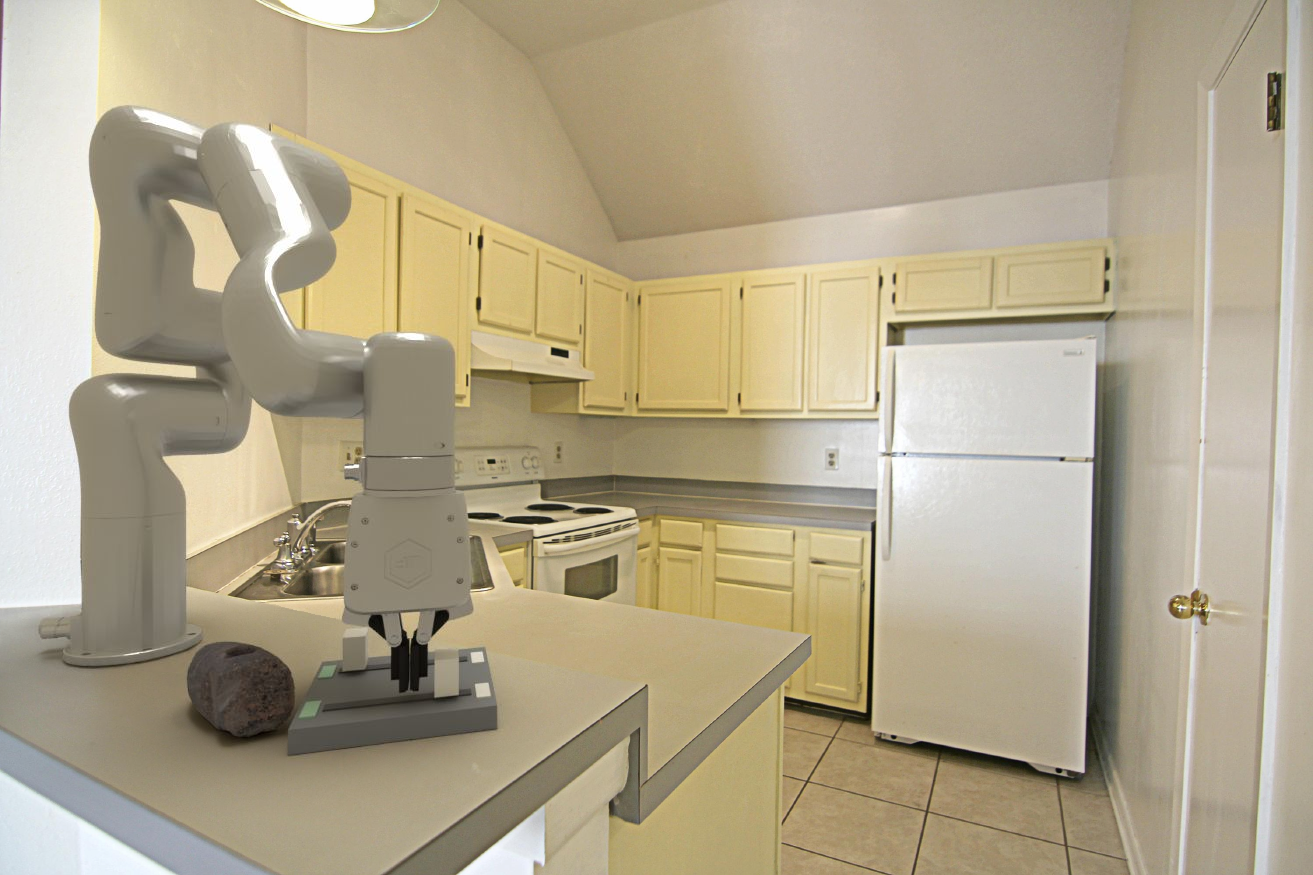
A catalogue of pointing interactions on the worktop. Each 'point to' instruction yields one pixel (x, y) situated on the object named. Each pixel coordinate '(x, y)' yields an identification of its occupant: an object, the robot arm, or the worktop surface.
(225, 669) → the perforated stone tool
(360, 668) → the block
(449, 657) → the block
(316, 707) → the slider switch panel
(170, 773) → the worktop surface
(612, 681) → the worktop surface
